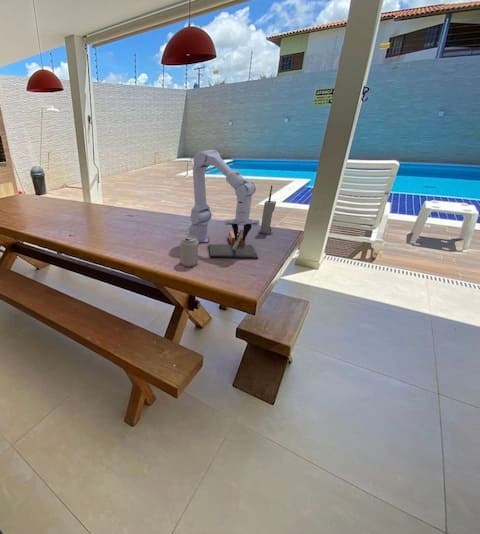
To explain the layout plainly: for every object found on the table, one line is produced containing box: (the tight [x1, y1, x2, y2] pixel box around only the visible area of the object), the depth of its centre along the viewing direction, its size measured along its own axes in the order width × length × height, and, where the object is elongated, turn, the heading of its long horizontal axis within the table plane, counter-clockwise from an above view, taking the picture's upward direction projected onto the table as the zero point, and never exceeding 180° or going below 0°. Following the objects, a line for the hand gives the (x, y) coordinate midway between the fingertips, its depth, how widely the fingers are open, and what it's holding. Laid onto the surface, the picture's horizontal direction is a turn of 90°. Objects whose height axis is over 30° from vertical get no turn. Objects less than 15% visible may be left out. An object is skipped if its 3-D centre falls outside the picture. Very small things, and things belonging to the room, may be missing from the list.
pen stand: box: [228, 230, 246, 245], centre depth 154 cm, size 6×11×4 cm, turn 169°
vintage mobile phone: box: [259, 184, 277, 235], centre depth 159 cm, size 4×5×25 cm
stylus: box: [233, 229, 244, 250], centre depth 141 cm, size 2×2×10 cm
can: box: [179, 235, 200, 267], centre depth 132 cm, size 8×8×12 cm
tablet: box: [208, 243, 259, 260], centre depth 143 cm, size 20×14×1 cm
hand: (239, 239), depth 140 cm, fingers closed on stylus, 3 cm apart
